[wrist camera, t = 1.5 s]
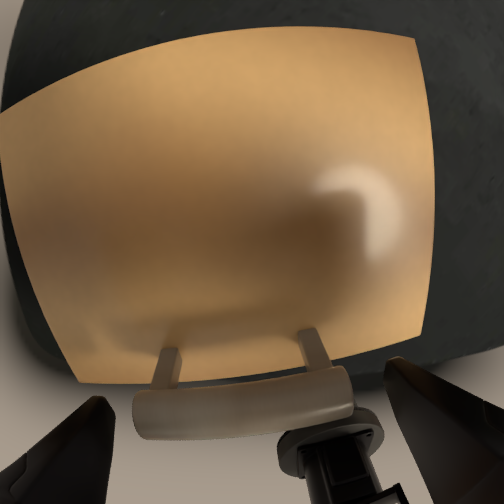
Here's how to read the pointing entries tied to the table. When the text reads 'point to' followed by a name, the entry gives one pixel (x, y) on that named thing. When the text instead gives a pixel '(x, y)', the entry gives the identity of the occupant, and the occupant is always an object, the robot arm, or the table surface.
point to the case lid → (228, 220)
